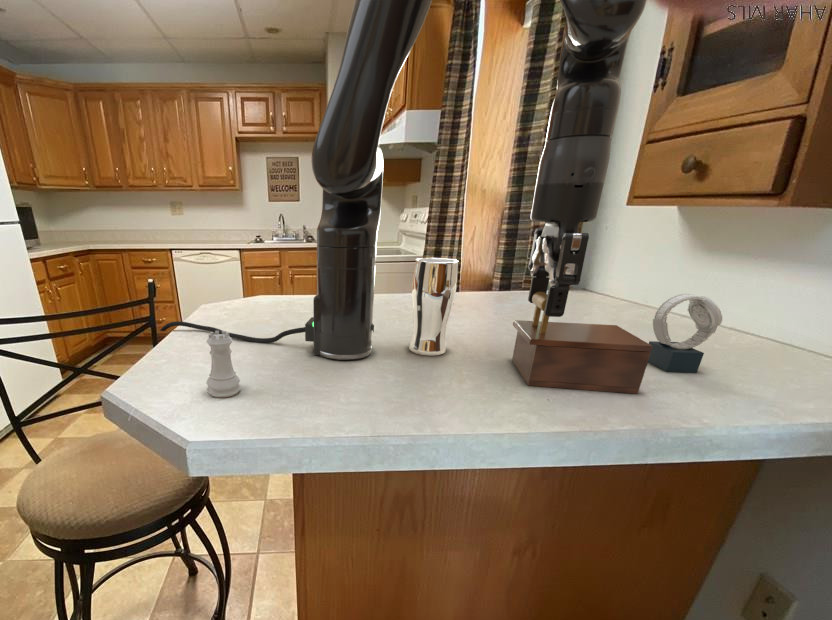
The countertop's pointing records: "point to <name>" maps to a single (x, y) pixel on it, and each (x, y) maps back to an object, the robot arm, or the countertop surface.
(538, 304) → the panel with brass rod
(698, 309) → the watch
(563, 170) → the robot arm
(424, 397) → the countertop surface
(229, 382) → the rook chess piece
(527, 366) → the brown wooden box
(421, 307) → the beer glass
